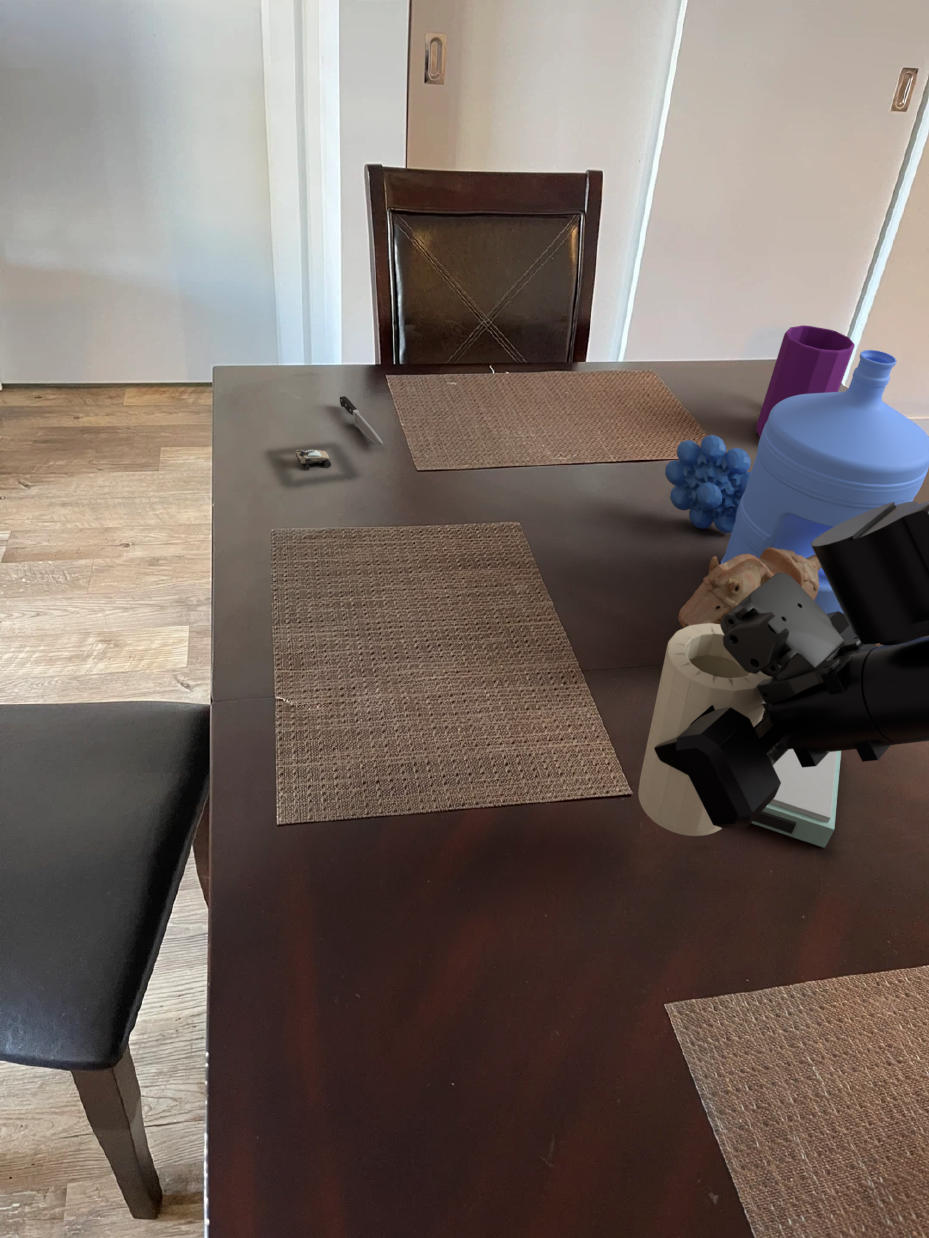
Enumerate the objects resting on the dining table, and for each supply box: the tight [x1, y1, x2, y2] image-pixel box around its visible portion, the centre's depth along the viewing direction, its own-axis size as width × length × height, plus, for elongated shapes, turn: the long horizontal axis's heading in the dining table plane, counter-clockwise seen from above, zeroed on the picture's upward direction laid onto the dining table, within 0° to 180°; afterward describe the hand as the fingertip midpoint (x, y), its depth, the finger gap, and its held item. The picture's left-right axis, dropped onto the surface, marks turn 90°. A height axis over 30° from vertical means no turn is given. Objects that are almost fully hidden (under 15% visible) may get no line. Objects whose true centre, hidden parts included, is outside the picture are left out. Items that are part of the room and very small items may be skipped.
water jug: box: [720, 349, 929, 614], centre depth 91 cm, size 16×16×28 cm
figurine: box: [678, 547, 822, 629], centre depth 86 cm, size 7×18×15 cm, turn 122°
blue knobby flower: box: [664, 434, 752, 534], centre depth 106 cm, size 12×7×12 cm, turn 67°
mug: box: [755, 324, 856, 438], centre depth 129 cm, size 9×16×15 cm, turn 165°
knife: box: [339, 395, 385, 447], centre depth 122 cm, size 15×1×2 cm, turn 27°
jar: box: [637, 623, 772, 837], centre depth 64 cm, size 7×7×14 cm
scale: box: [750, 749, 842, 849], centre depth 77 cm, size 10×10×3 cm
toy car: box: [295, 449, 332, 471], centre depth 114 cm, size 3×4×2 cm, turn 112°
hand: (687, 727), depth 65 cm, fingers closed on jar, 7 cm apart
